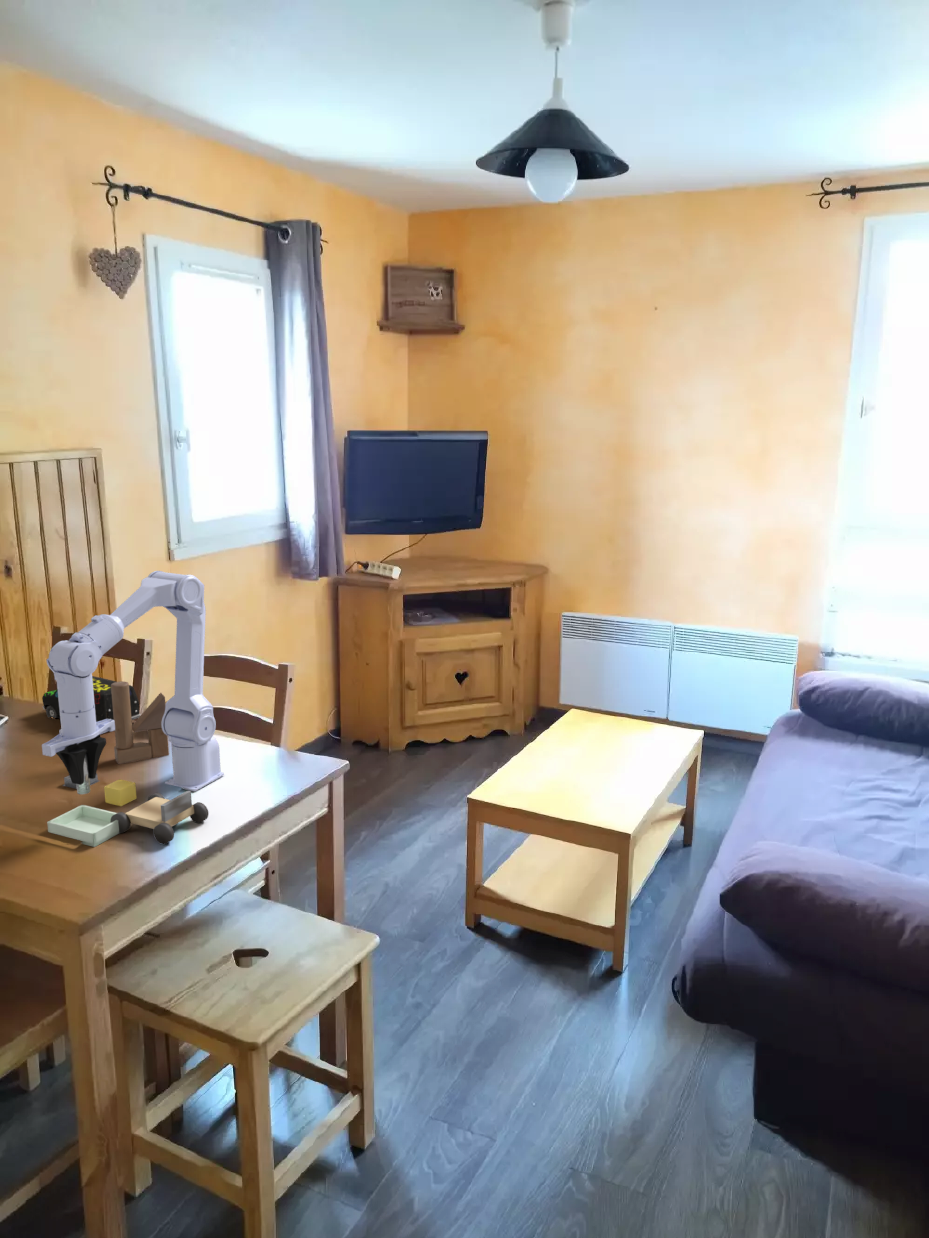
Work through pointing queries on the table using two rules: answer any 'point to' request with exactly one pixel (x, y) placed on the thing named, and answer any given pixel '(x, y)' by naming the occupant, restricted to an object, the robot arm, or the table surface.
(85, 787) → the pin
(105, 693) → the toy van
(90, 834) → the tray
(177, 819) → the trolley
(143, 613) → the robot arm
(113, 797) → the yellow cube
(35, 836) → the table surface
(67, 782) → the pin socket
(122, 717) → the wooden block
